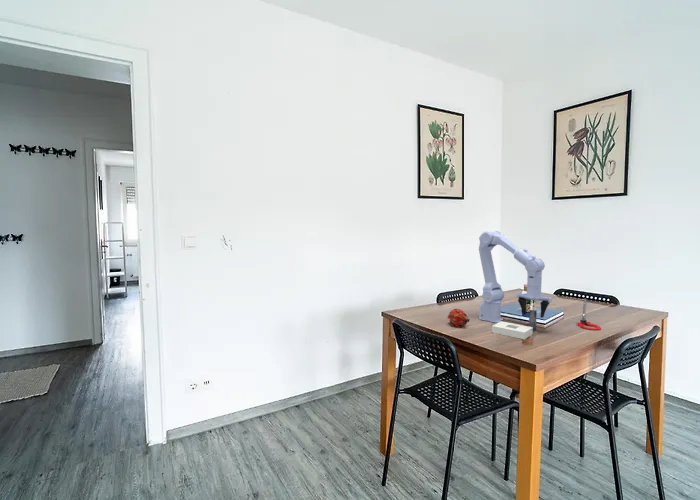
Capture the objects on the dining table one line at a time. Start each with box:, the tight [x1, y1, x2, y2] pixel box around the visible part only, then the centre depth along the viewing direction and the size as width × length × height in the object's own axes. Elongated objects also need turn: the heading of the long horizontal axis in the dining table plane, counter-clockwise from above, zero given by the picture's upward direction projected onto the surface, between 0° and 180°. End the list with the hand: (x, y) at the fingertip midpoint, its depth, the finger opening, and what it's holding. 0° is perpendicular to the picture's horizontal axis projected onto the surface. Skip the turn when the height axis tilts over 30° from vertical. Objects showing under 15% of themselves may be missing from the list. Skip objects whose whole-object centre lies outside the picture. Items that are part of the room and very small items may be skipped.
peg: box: [528, 309, 538, 332], centre depth 170 cm, size 3×3×9 cm
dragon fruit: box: [447, 308, 470, 328], centre depth 178 cm, size 8×8×12 cm
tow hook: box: [575, 298, 602, 332], centre depth 173 cm, size 8×13×9 cm
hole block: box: [491, 320, 534, 340], centre depth 166 cm, size 14×10×3 cm
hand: (533, 315), depth 170 cm, fingers open, 7 cm apart
